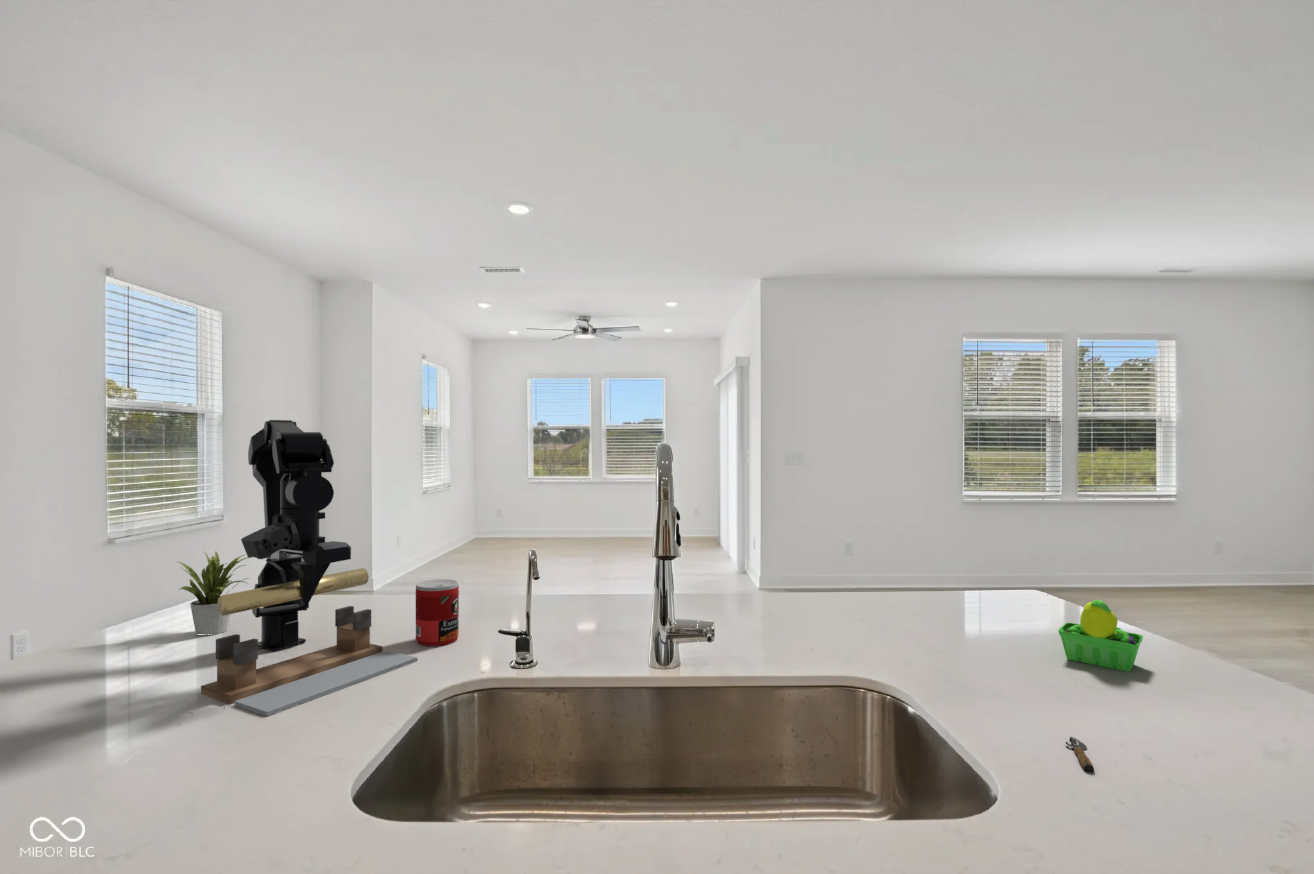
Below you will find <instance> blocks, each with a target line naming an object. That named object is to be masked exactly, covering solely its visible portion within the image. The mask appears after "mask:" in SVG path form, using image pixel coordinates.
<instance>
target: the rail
mask: <svg viewBox="0 0 1314 874" xmlns="http://www.w3.org/2000/svg"><path fill="white" fill-rule="evenodd" d="M368 581H369V572H368V570H367V568H364V567H362V568H356V569H351V570H347V571H346V570H345V571H342V572H335V573H329V574H324V575H323V577H322V578H321V580H320V582H319V584H318V586H317V588H316V590H315V592H314V594H313V596H312V597H314V596H318V595H323V594H327V593H333V592H337V591H341V590H347V589H350V588H356V587H359V586H363V585H366V584H367V583H368ZM297 599H301V591H300V581H293V582H288V583H283V584H278V585H273V586H268V587H263V588H257V589H254V588H253V589H252V588H251V589H247V590H243V591H239V592H238V591H237V592H233V593H227V594H221V595H220V597H219V599H218V603H217V606H218V610H219V613H220V614H221V615H223V616H224V615H229V614H230V615H233V614H237V613H242V612H247V611H252V609H256V608H263V607H265V606H270V605H274V604H279V603H283V602H288V601H292V600H297Z"/></svg>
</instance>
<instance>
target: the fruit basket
mask: <svg viewBox="0 0 1314 874" xmlns="http://www.w3.org/2000/svg"><path fill="white" fill-rule="evenodd" d="M1079 622H1080V624H1079V623H1075V622H1064V623H1063V625H1062V626H1061V627H1059V628H1058V630H1057V631H1058V634H1059V636H1060V638H1061V642H1062V647H1063V650H1064V653H1065V656H1066V660H1069V661H1072V662H1073V661H1074V662H1080V663H1084V664H1088V665H1093V666H1099V667H1102V668H1108V669H1112V670H1113V669H1115V670H1118V671H1123V672H1128V673H1129V672H1131V669H1132V668H1133V666H1134V665H1135V661H1136V658H1137V655H1138V652H1139V649H1140V645H1141V643H1142V642H1143V639H1144V636H1143V635H1142V634H1139V633H1133V632H1129V631H1126V630H1123V629H1122V628H1120V627H1118V617H1117V616H1116V614H1114V612H1112V609H1110V608H1109V606H1108V604H1107V603H1105V602H1104V600H1101V599H1094V600H1093V601H1088V602H1087V603H1086V604H1085V605H1084V606H1083V609H1082V611H1081V613H1080V619H1079Z"/></svg>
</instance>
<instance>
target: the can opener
mask: <svg viewBox="0 0 1314 874" xmlns="http://www.w3.org/2000/svg"><path fill="white" fill-rule="evenodd" d="M1069 742H1071V743H1069ZM1069 742H1068V741H1065V745H1067V746H1069V747H1071V748H1073V752H1074V754H1075V756H1076V757H1077V760H1078V763H1079V765H1080V766H1081V768H1082V769H1083V770H1084V772H1086V773H1091V774H1093V773H1094V772H1095V769H1094V766H1093V763H1092V761H1091V760H1090V758H1089V757H1088V756H1087V754H1086V753H1085V751H1087V749H1088V747H1087V745H1086V744H1085V743H1083V742H1082V741H1080V739H1077V738H1076V737H1074V736H1069Z"/></svg>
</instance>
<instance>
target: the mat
mask: <svg viewBox="0 0 1314 874" xmlns="http://www.w3.org/2000/svg"><path fill="white" fill-rule="evenodd" d="M416 662H418V656H413V655H409V654H404V653H400V652H395V651H390V650H382V652H380V653H377V654H374V655H371V656H368V657H365V658H362V659H359V660H356V661H353V662H350V663H347V664H344V665H341V666H338V667H335V668H332V669H329V670H326V671H323V672H320V673H317V674H314V675H311V676H308V677H305V678H302V679H299V680H296V681H293V682H290V683H287V684H284V685H281V686H278V687H275V688H272V689H269V690H266V691H263V692H260V693H257V694H254V695H251V696H248V697H245V698H242V699H239V700H236V701H235V703H234V707H235V706H236V707H239V708H242V709H244V710H248V711H250V712H253V713H257V714H260V715H262V716H265V717H268V716H273V715H274V714H278V713H280V712H283V711H286V710H289V709H291V708H293V707H294V708H295V707H296V706H299V705H302V704H305V703H307V702H310V701H312V700H315V699H318V698H321V697H324V696H326V695H329V694H332V693H334V692H337V691H339V690H342V689H345V688H348V687H351V686H354V685H356V684H359V683H361V682H364V681H367V680H370V679H372V678H375V677H377V676H380V675H383V674H386V673H389V672H391V671H393V670H396V669H399V668H402V667H405V666H407V665H410V664H413V663H416Z"/></svg>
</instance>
